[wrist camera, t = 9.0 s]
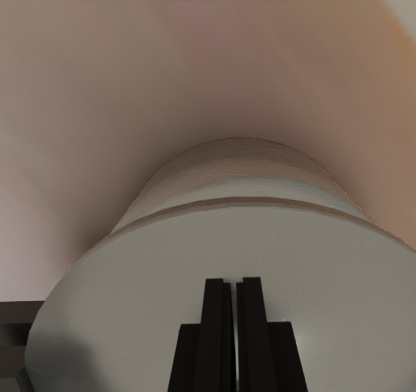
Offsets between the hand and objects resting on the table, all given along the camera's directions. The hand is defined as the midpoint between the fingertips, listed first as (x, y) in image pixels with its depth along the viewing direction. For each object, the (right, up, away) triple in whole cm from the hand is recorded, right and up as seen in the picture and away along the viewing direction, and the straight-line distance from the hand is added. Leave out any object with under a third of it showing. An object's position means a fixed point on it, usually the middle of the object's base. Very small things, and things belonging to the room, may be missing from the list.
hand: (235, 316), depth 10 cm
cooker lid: (-1, -5, +5) cm, 7 cm away
